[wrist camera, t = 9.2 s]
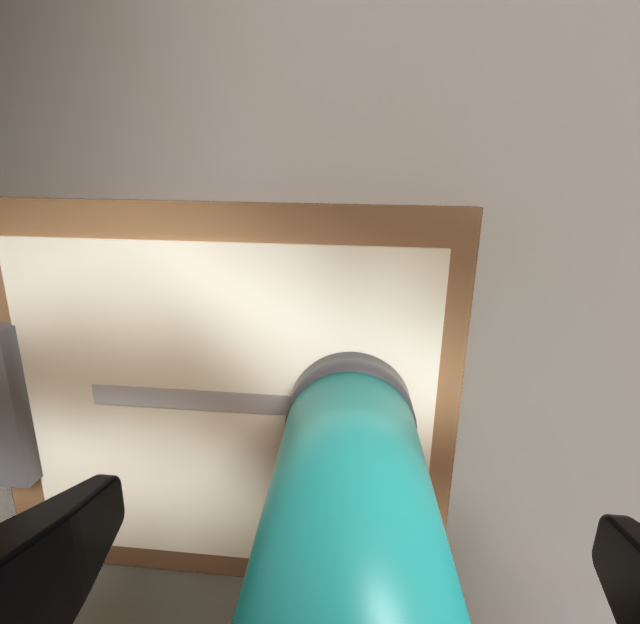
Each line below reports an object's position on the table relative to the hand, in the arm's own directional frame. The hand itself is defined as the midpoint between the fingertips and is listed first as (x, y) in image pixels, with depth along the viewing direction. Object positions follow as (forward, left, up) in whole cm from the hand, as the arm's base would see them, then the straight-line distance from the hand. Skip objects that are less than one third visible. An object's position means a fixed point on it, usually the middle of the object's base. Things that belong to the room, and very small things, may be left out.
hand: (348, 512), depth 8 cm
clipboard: (0, +4, -5) cm, 6 cm away
